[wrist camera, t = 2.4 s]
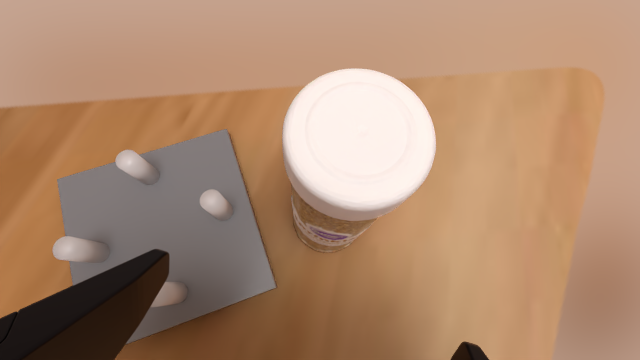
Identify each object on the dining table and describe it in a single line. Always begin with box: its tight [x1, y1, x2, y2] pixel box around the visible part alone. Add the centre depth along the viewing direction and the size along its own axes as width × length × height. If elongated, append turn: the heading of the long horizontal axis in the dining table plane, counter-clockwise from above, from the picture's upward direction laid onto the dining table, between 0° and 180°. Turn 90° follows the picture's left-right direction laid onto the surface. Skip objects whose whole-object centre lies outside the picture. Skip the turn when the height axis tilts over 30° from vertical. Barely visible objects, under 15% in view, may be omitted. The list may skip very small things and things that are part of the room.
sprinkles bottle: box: [282, 68, 436, 253], centre depth 16 cm, size 5×5×14 cm
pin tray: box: [53, 129, 277, 345], centre depth 19 cm, size 11×11×4 cm
